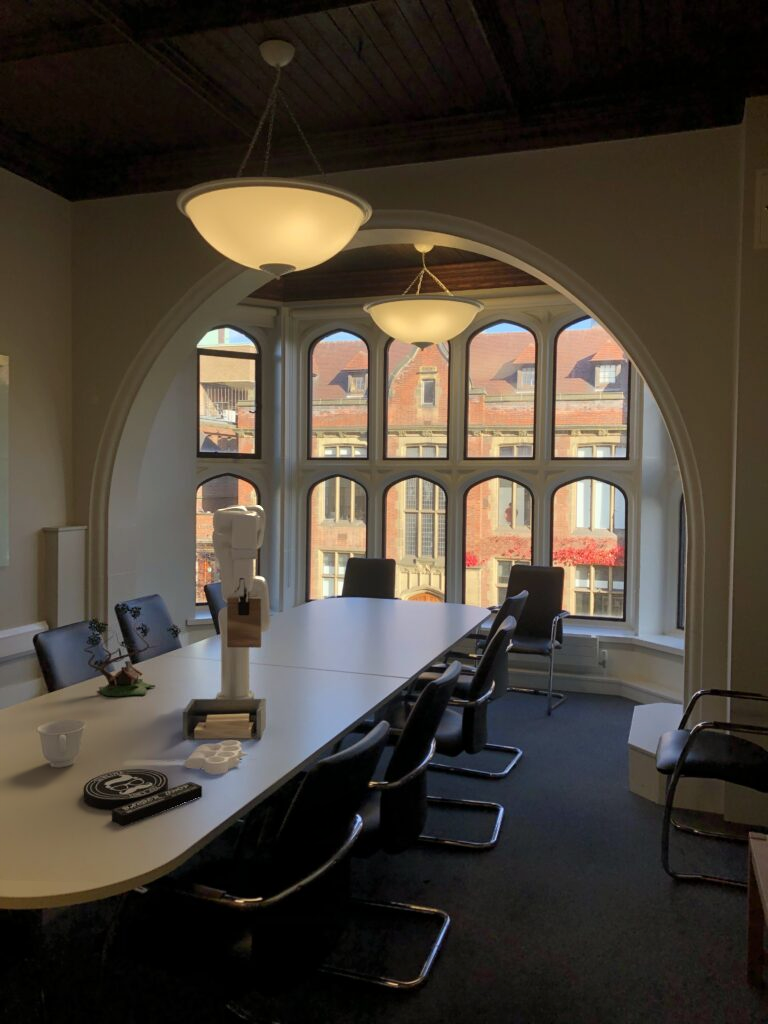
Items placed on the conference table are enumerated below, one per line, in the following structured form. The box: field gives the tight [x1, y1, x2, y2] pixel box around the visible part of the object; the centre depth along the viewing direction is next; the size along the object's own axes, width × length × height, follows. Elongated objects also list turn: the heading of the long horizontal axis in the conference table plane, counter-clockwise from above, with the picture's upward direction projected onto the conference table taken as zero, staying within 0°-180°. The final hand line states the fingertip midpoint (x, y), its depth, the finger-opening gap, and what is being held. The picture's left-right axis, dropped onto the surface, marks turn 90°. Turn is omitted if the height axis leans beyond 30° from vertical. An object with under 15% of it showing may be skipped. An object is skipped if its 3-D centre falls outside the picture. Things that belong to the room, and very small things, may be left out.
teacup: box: [36, 719, 87, 768], centre depth 212 cm, size 12×15×10 cm
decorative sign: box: [82, 768, 203, 827], centre depth 192 cm, size 22×3×25 cm
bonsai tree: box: [83, 602, 181, 698], centre depth 280 cm, size 35×24×32 cm
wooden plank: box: [226, 597, 262, 649], centre depth 245 cm, size 2×10×15 cm, turn 91°
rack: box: [182, 698, 267, 741], centre depth 236 cm, size 13×22×9 cm, turn 92°
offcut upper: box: [206, 714, 249, 730], centre depth 234 cm, size 6×12×2 cm, turn 98°
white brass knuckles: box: [183, 739, 248, 775], centre depth 215 cm, size 3×18×15 cm
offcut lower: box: [194, 722, 254, 738], centre depth 234 cm, size 7×16×2 cm, turn 92°
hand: (244, 613), depth 245 cm, fingers closed on wooden plank, 2 cm apart
